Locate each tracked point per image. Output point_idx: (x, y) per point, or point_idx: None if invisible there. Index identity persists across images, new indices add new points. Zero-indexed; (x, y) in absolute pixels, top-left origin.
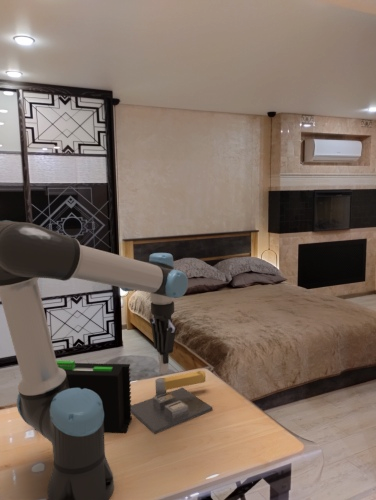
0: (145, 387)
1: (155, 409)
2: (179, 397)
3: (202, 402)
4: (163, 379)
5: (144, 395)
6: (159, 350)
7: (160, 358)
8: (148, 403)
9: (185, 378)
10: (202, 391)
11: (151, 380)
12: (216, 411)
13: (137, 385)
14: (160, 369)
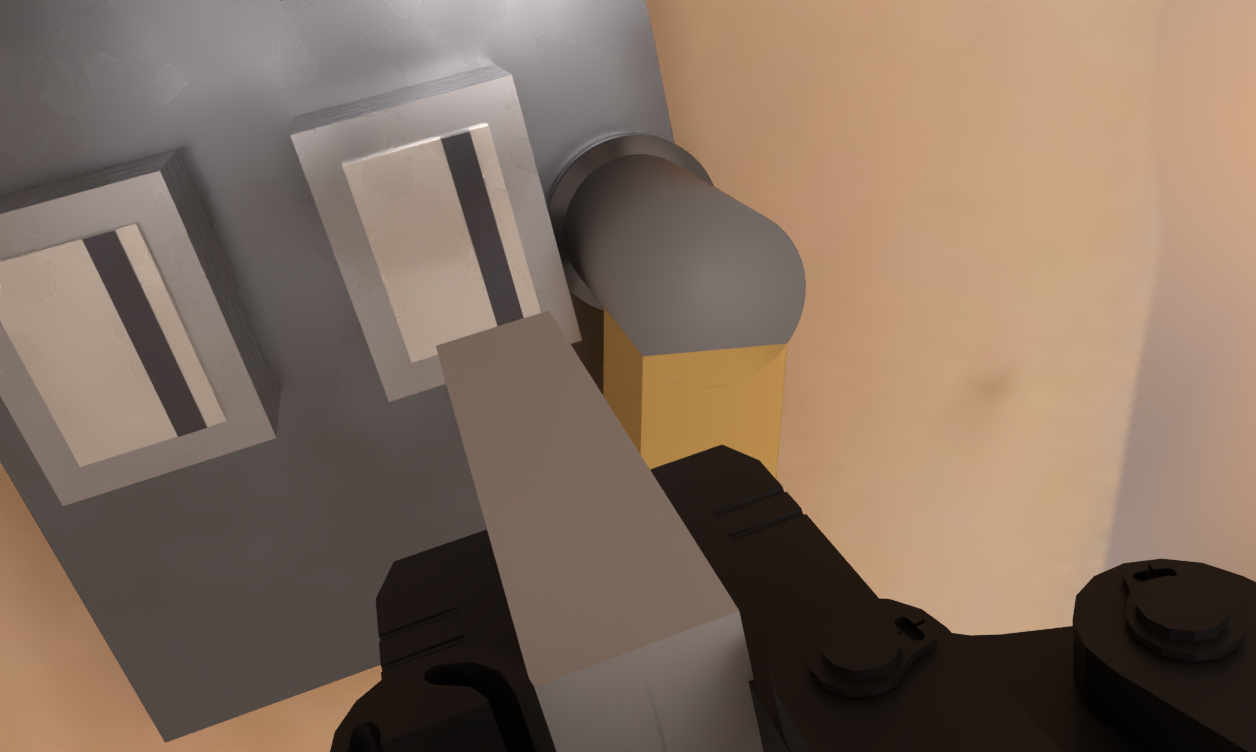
0: (1014, 111)
1: (335, 51)
2: None
3: (316, 664)
4: (731, 352)
5: (836, 36)
6: (788, 720)
7: (547, 542)
8: (544, 2)
9: None
10: None
11: (1123, 232)
12: (130, 747)
13: (1112, 24)
14: (499, 365)
